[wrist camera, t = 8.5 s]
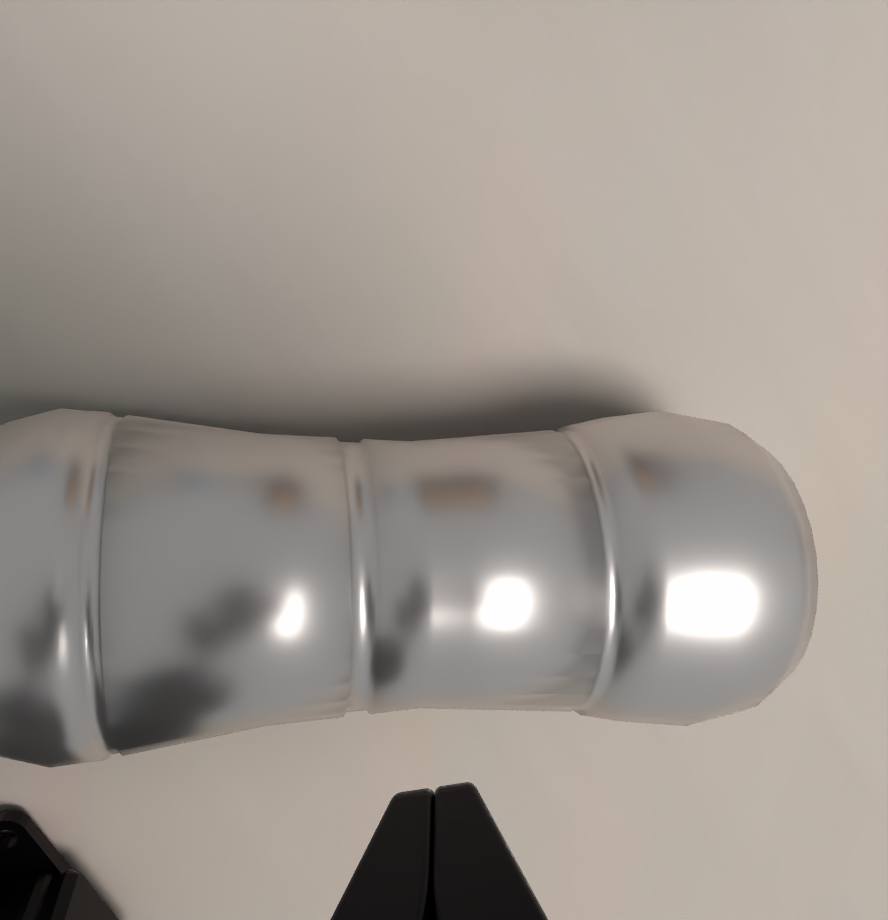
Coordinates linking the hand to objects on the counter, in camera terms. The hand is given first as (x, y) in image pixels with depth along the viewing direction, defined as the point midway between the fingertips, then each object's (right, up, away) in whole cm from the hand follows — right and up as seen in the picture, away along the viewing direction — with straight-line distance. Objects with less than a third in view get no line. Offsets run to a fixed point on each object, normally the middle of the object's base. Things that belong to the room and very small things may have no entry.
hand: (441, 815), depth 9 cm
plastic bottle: (+7, +2, +10) cm, 13 cm away
